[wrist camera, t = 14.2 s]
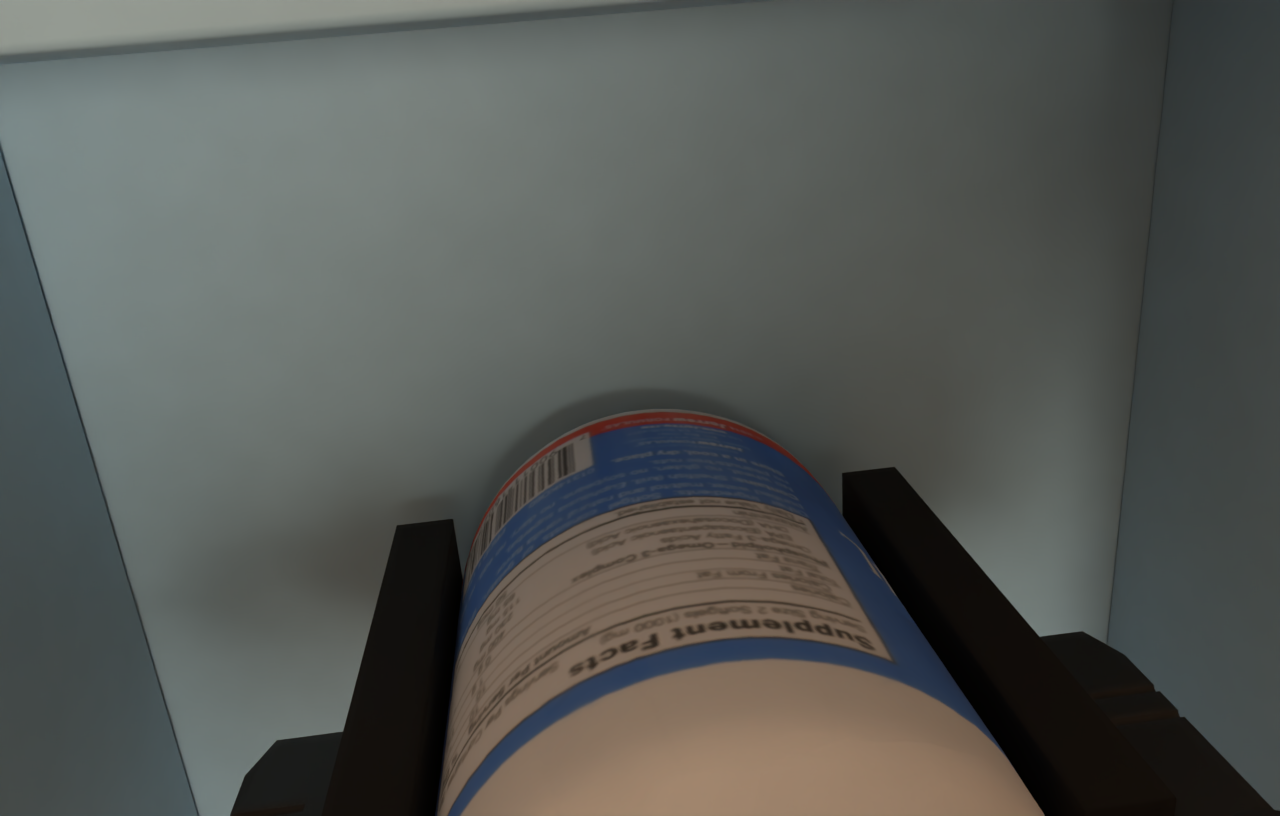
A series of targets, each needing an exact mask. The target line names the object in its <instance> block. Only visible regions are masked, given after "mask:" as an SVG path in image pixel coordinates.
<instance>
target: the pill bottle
mask: <svg viewBox="0 0 1280 816" xmlns="http://www.w3.org/2000/svg"><path fill="white" fill-rule="evenodd" d="M435 816H1045V815H1044V813H1043V812H1042V810H1041V809H1040V807H1039V806H1038V804H1037V803H1036V801H1035V800H1034V798H1033V797H1032V795H1031V794H1030V792H1029V791H1028V789H1027V788H1026V786H1025V785H1024V783H1023V781H1022V780H1021V778H1020V777H1019V775H1018V774H1017V772H1016V770H1015V769H1014V767H1013V766H1012V764H1011V763H1010V761H1009V759H1008V758H1007V756H1006V755H1005V753H1004V752H1003V750H1002V749H1001V748H1000V746H999V745H998V743H997V742H996V740H995V739H994V737H993V736H992V734H991V733H990V732H989V730H988V729H987V727H986V726H985V724H984V723H983V721H982V720H981V718H980V717H979V716H978V714H977V713H976V711H975V710H974V708H973V707H972V705H971V704H970V703H969V701H968V700H967V698H966V697H965V695H964V694H963V692H962V691H961V689H960V688H959V687H958V685H957V684H956V682H955V681H954V679H953V678H952V676H951V675H950V673H949V672H948V670H947V669H946V667H945V666H944V665H943V663H942V662H941V660H940V659H939V657H938V656H937V654H936V653H935V651H934V650H933V648H932V647H931V645H930V644H929V642H928V641H927V639H926V638H925V637H924V635H923V634H922V632H921V631H920V629H919V628H918V626H917V625H916V623H915V622H914V620H913V619H912V618H911V616H910V615H909V613H908V612H907V610H906V608H905V607H904V606H903V604H902V603H901V601H900V600H899V599H898V597H897V596H896V594H895V592H894V591H893V589H892V588H891V586H890V585H889V583H888V582H887V580H886V579H885V577H884V576H883V574H882V573H881V572H880V570H879V569H878V568H877V566H876V565H875V563H874V562H873V560H872V559H871V557H870V556H869V554H868V553H867V551H866V550H865V548H864V547H863V545H862V544H861V542H860V541H859V539H858V538H857V536H856V535H855V533H854V532H853V530H852V529H851V527H850V526H849V524H848V523H847V522H846V520H845V519H844V517H843V516H842V514H841V513H840V511H839V510H838V508H837V507H836V505H835V504H834V502H833V501H832V499H831V498H830V497H829V495H828V494H827V493H826V491H825V490H824V489H823V487H822V486H821V485H820V484H819V483H818V481H817V480H816V479H815V478H814V477H813V475H812V474H811V473H810V472H809V471H808V470H807V469H806V468H805V467H804V466H803V465H802V464H801V463H800V462H799V461H798V460H797V459H796V458H795V457H794V456H793V455H792V454H791V453H790V452H788V451H787V450H786V449H784V448H783V447H782V446H781V445H779V444H778V443H776V442H775V441H773V440H772V439H770V438H768V437H767V436H765V435H764V434H762V433H760V432H758V431H756V430H754V429H752V428H750V427H747V426H745V425H743V424H741V423H738V422H736V421H733V420H730V419H727V418H723V417H720V416H716V415H712V414H708V413H703V412H697V411H690V410H681V409H647V410H637V411H629V412H623V413H619V414H615V415H611V416H607V417H604V418H600V419H597V420H594V421H591V422H589V423H586V424H584V425H581V426H579V427H577V428H575V429H573V430H571V431H569V432H567V433H565V434H563V435H562V436H560V437H558V438H557V439H555V440H553V441H552V442H550V443H549V444H547V445H546V446H544V447H543V448H542V449H541V450H539V451H538V452H537V453H535V454H534V455H533V456H531V457H530V458H529V459H528V460H527V461H526V462H525V463H524V464H523V465H521V466H520V467H519V468H518V469H517V470H516V471H515V473H514V474H513V475H512V476H511V477H510V478H509V479H508V480H507V481H506V482H505V484H504V485H503V486H502V488H501V489H500V491H499V492H498V493H497V495H496V496H495V498H494V499H493V501H492V502H491V504H490V506H489V508H488V509H487V511H486V513H485V515H484V517H483V519H482V520H481V523H480V525H479V527H478V529H477V532H476V534H475V536H474V539H473V542H472V546H471V549H470V552H469V556H468V559H467V563H466V567H465V572H464V577H463V583H462V588H461V600H460V608H459V616H458V625H457V634H456V643H455V653H454V663H453V670H452V680H451V689H450V698H449V707H448V715H447V722H446V730H445V738H444V745H443V754H442V764H441V772H440V780H439V787H438V794H437V802H436V810H435Z"/></svg>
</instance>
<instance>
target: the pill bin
mask: <svg viewBox="0 0 1280 816" xmlns="http://www.w3.org/2000/svg"><path fill="white" fill-rule="evenodd" d="M647 409H681V410H690V411H697V412H703V413H708V414H712V415H716V416H720V417H723V418H727V419H730V420H733V421H736V422H738V423H741V424H743V425H745V426H747V427H750V428H752V429H754V430H756V431H758V432H760V433H762V434H764V435H765V436H767V437H768V438H770V439H772V440H773V441H775V442H776V443H778V444H779V445H781V446H782V447H783V448H784V449H786V450H787V451H788V452H790V453H791V454H792V455H793V456H794V457H795V458H796V459H797V460H798V461H799V462H800V463H801V464H802V465H803V466H804V467H805V468H806V469H807V470H808V471H809V472H810V473H811V474H812V475H813V477H814V478H815V479H816V480H817V481H818V483H819V484H820V485H821V486H822V487H823V489H824V490H825V491H826V493H827V494H828V495H829V497H830V498H831V499H832V501H833V502H834V504H835V505H836V507H837V508H838V510H839V511H840V513H841V514H842V473H845V472H854V471H862V470H871V469H879V468H888V467H895V468H896V469H897V470H898V471H899V472H900V473H901V475H902V476H903V477H904V478H905V479H906V480H907V482H908V483H909V484H910V485H911V486H912V488H913V489H914V490H915V491H916V492H917V493H918V495H919V496H920V497H921V498H922V499H923V500H924V502H925V503H926V504H927V505H928V506H929V508H930V509H931V510H932V511H933V512H934V513H935V515H936V516H937V517H938V518H939V519H940V520H941V522H942V523H943V524H944V525H945V526H946V527H947V529H948V530H949V531H950V532H951V533H952V535H953V536H954V537H955V538H956V539H957V540H958V542H959V543H960V544H961V545H962V546H963V547H964V549H965V550H966V551H967V552H968V553H969V554H970V556H971V557H972V558H973V559H974V560H975V562H976V563H977V564H978V565H979V566H980V567H981V569H982V570H983V571H984V572H985V573H986V574H987V576H988V577H989V578H990V579H991V580H992V582H993V583H994V584H995V585H996V586H997V587H998V589H999V590H1000V591H1001V592H1002V593H1003V594H1004V596H1005V597H1006V598H1007V599H1008V600H1009V601H1010V603H1011V604H1012V605H1013V606H1014V607H1015V609H1016V610H1017V611H1018V612H1019V613H1020V614H1021V616H1022V617H1023V618H1024V619H1025V620H1026V621H1027V623H1028V624H1029V625H1030V626H1031V627H1032V629H1033V630H1034V631H1035V632H1036V633H1037V634H1038V636H1039V637H1041V636H1049V635H1056V634H1064V633H1071V632H1079V631H1083V632H1085V633H1087V634H1089V635H1090V636H1092V637H1094V638H1096V639H1098V640H1099V641H1101V642H1103V643H1105V644H1106V645H1108V646H1110V647H1112V648H1114V649H1115V650H1117V651H1119V652H1121V653H1123V654H1124V655H1126V657H1127V658H1128V659H1129V660H1130V661H1131V662H1132V663H1133V664H1134V665H1135V666H1136V667H1137V668H1138V669H1139V670H1140V671H1141V672H1142V673H1143V674H1144V675H1145V676H1146V677H1147V678H1148V679H1149V680H1150V681H1151V682H1152V683H1153V685H1154V689H1155V691H1156V692H1157V691H1160V692H1161V693H1162V694H1163V695H1164V696H1165V697H1166V698H1167V699H1168V700H1169V701H1170V702H1171V703H1172V704H1173V705H1174V706H1175V707H1176V708H1177V709H1178V713H1179V716H1180V717H1185V718H1186V719H1187V720H1188V721H1189V722H1190V723H1191V724H1192V725H1193V726H1194V727H1195V728H1196V729H1197V730H1198V731H1199V732H1200V733H1201V734H1202V735H1203V736H1204V737H1205V738H1206V740H1207V741H1208V742H1209V743H1210V744H1211V745H1212V746H1213V747H1214V748H1215V749H1216V750H1217V751H1218V752H1219V753H1220V754H1221V755H1222V756H1223V757H1224V758H1225V759H1226V760H1227V761H1228V762H1229V763H1230V764H1231V765H1232V766H1233V768H1234V769H1235V770H1236V771H1237V772H1238V773H1239V774H1240V775H1241V776H1242V777H1243V778H1244V779H1245V780H1246V781H1247V782H1248V783H1249V784H1250V785H1251V786H1252V787H1253V788H1254V789H1255V790H1256V791H1257V792H1258V793H1259V794H1260V796H1261V797H1262V798H1263V799H1264V800H1265V801H1266V802H1267V803H1268V804H1269V805H1270V806H1271V807H1272V808H1273V809H1274V810H1278V811H1280V0H0V816H230V814H231V811H232V808H233V806H234V803H235V800H236V798H237V795H238V792H239V790H240V787H241V784H242V782H243V779H244V776H245V775H246V774H247V773H248V772H249V771H250V769H251V768H252V767H253V766H254V765H255V764H256V763H257V762H258V760H259V759H260V758H261V757H262V756H263V755H264V754H265V753H266V752H267V750H268V749H269V748H270V747H271V746H272V745H273V744H274V743H275V742H276V740H283V739H290V738H298V737H305V736H313V735H320V734H328V733H335V732H343V730H344V726H345V722H346V719H347V715H348V711H349V707H350V703H351V699H352V696H353V692H354V688H355V684H356V680H357V676H358V673H359V669H360V665H361V661H362V657H363V653H364V649H365V646H366V642H367V638H368V634H369V630H370V626H371V623H372V619H373V615H374V611H375V607H376V603H377V600H378V596H379V592H380V588H381V584H382V580H383V576H384V573H385V569H386V565H387V561H388V557H389V553H390V550H391V546H392V542H393V538H394V534H395V530H396V527H397V525H403V524H412V523H420V522H429V521H437V520H446V519H453V522H454V528H455V534H456V540H457V546H458V553H459V559H460V565H461V571H462V577H464V572H465V567H466V563H467V559H468V556H469V552H470V549H471V546H472V542H473V539H474V536H475V534H476V532H477V529H478V527H479V525H480V523H481V520H482V519H483V517H484V515H485V513H486V511H487V509H488V508H489V506H490V504H491V502H492V501H493V499H494V498H495V496H496V495H497V493H498V492H499V491H500V489H501V488H502V486H503V485H504V484H505V482H506V481H507V480H508V479H509V478H510V477H511V476H512V475H513V474H514V473H515V471H516V470H517V469H518V468H519V467H520V466H521V465H523V464H524V463H525V462H526V461H527V460H528V459H529V458H530V457H531V456H533V455H534V454H535V453H537V452H538V451H539V450H541V449H542V448H543V447H544V446H546V445H547V444H549V443H550V442H552V441H553V440H555V439H557V438H558V437H560V436H562V435H563V434H565V433H567V432H569V431H571V430H573V429H575V428H577V427H579V426H581V425H584V424H586V423H589V422H591V421H594V420H597V419H600V418H604V417H607V416H611V415H615V414H619V413H623V412H629V411H637V410H647Z"/></svg>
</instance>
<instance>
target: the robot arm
mask: <svg viewBox="0 0 1280 816" xmlns="http://www.w3.org/2000/svg"><path fill="white" fill-rule="evenodd" d="M842 516H843V517H844V519H845V520H846V522H847V523H848V524H849V526H850V527H851V529H852V530H853V532H854V533H855V535H856V536H857V538H858V539H859V541H860V542H861V544H862V545H863V547H864V548H865V550H866V551H867V553H868V554H869V556H870V557H871V559H872V560H873V562H874V563H875V565H876V566H877V568H878V569H879V570H880V572H881V573H882V574H883V576H884V577H885V579H886V580H887V582H888V583H889V585H890V586H891V588H892V589H893V591H894V592H895V594H896V596H897V597H898V599H899V600H900V601H901V603H902V604H903V606H904V607H905V608H906V610H907V612H908V613H909V615H910V616H911V618H912V619H913V620H914V622H915V623H916V625H917V626H918V628H919V629H920V631H921V632H922V634H923V635H924V637H925V638H926V639H927V641H928V642H929V644H930V645H931V647H932V648H933V650H934V651H935V653H936V654H937V656H938V657H939V659H940V660H941V662H942V663H943V665H944V666H945V667H946V669H947V670H948V672H949V673H950V675H951V676H952V678H953V679H954V681H955V682H956V684H957V685H958V687H959V688H960V689H961V691H962V692H963V694H964V695H965V697H966V698H967V700H968V701H969V703H970V704H971V705H972V707H973V708H974V710H975V711H976V713H977V714H978V716H979V717H980V718H981V720H982V721H983V723H984V724H985V726H986V727H987V729H988V730H989V732H990V733H991V734H992V736H993V737H994V739H995V740H996V742H997V743H998V745H999V746H1000V748H1001V749H1002V750H1003V752H1004V753H1005V755H1006V756H1007V758H1008V759H1009V761H1010V763H1011V764H1012V766H1013V767H1014V769H1015V770H1016V772H1017V774H1018V775H1019V777H1020V778H1021V780H1022V781H1023V783H1024V785H1025V786H1026V788H1027V789H1028V791H1029V792H1030V794H1031V795H1032V797H1033V798H1034V800H1035V801H1036V803H1037V804H1038V806H1039V807H1040V809H1041V810H1042V812H1043V813H1044V815H1045V816H1280V811H1278V810H1274V809H1273V808H1272V807H1271V806H1270V805H1269V804H1268V803H1267V802H1266V801H1265V800H1264V799H1263V798H1262V797H1261V796H1260V794H1259V793H1258V792H1257V791H1256V790H1255V789H1254V788H1253V787H1252V786H1251V785H1250V784H1249V783H1248V782H1247V781H1246V780H1245V779H1244V778H1243V777H1242V776H1241V775H1240V774H1239V773H1238V772H1237V771H1236V770H1235V769H1234V768H1233V766H1232V765H1231V764H1230V763H1229V762H1228V761H1227V760H1226V759H1225V758H1224V757H1223V756H1222V755H1221V754H1220V753H1219V752H1218V751H1217V750H1216V749H1215V748H1214V747H1213V746H1212V745H1211V744H1210V743H1209V742H1208V741H1207V740H1206V738H1205V737H1204V736H1203V735H1202V734H1201V733H1200V732H1199V731H1198V730H1197V729H1196V728H1195V727H1194V726H1193V725H1192V724H1191V723H1190V722H1189V721H1188V720H1187V719H1186V718H1185V717H1180V716H1179V713H1178V709H1177V708H1176V707H1175V706H1174V705H1173V704H1172V703H1171V702H1170V701H1169V700H1168V699H1167V698H1166V697H1165V696H1164V695H1163V694H1162V693H1161V692H1160V691H1157V692H1156V691H1155V689H1154V685H1153V683H1152V682H1151V681H1150V680H1149V679H1148V678H1147V677H1146V676H1145V675H1144V674H1143V673H1142V672H1141V671H1140V670H1139V669H1138V668H1137V667H1136V666H1135V665H1134V664H1133V663H1132V662H1131V661H1130V660H1129V659H1128V658H1127V657H1126V655H1124V654H1123V653H1121V652H1119V651H1117V650H1115V649H1114V648H1112V647H1110V646H1108V645H1106V644H1105V643H1103V642H1101V641H1099V640H1098V639H1096V638H1094V637H1092V636H1090V635H1089V634H1087V633H1085V632H1083V631H1079V632H1071V633H1064V634H1056V635H1049V636H1041V637H1039V636H1038V634H1037V633H1036V632H1035V631H1034V630H1033V629H1032V627H1031V626H1030V625H1029V624H1028V623H1027V621H1026V620H1025V619H1024V618H1023V617H1022V616H1021V614H1020V613H1019V612H1018V611H1017V610H1016V609H1015V607H1014V606H1013V605H1012V604H1011V603H1010V601H1009V600H1008V599H1007V598H1006V597H1005V596H1004V594H1003V593H1002V592H1001V591H1000V590H999V589H998V587H997V586H996V585H995V584H994V583H993V582H992V580H991V579H990V578H989V577H988V576H987V574H986V573H985V572H984V571H983V570H982V569H981V567H980V566H979V565H978V564H977V563H976V562H975V560H974V559H973V558H972V557H971V556H970V554H969V553H968V552H967V551H966V550H965V549H964V547H963V546H962V545H961V544H960V543H959V542H958V540H957V539H956V538H955V537H954V536H953V535H952V533H951V532H950V531H949V530H948V529H947V527H946V526H945V525H944V524H943V523H942V522H941V520H940V519H939V518H938V517H937V516H936V515H935V513H934V512H933V511H932V510H931V509H930V508H929V506H928V505H927V504H926V503H925V502H924V500H923V499H922V498H921V497H920V496H919V495H918V493H917V492H916V491H915V490H914V489H913V488H912V486H911V485H910V484H909V483H908V482H907V480H906V479H905V478H904V477H903V476H902V475H901V473H900V472H899V471H898V470H897V469H896V468H895V467H888V468H879V469H871V470H862V471H854V472H845V473H842ZM462 583H463V577H462V571H461V565H460V559H459V553H458V546H457V540H456V534H455V528H454V522H453V519H446V520H437V521H429V522H420V523H412V524H403V525H397V527H396V530H395V534H394V538H393V542H392V546H391V550H390V553H389V557H388V561H387V565H386V569H385V573H384V576H383V580H382V584H381V588H380V592H379V596H378V600H377V603H376V607H375V611H374V615H373V619H372V623H371V626H370V630H369V634H368V638H367V642H366V646H365V649H364V653H363V657H362V661H361V665H360V669H359V673H358V676H357V680H356V684H355V688H354V692H353V696H352V699H351V703H350V707H349V711H348V715H347V719H346V722H345V726H344V730H343V732H335V733H328V734H320V735H313V736H305V737H298V738H290V739H283V740H276V742H275V743H274V744H273V745H272V746H271V747H270V748H269V749H268V750H267V752H266V753H265V754H264V755H263V756H262V757H261V758H260V759H259V760H258V762H257V763H256V764H255V765H254V766H253V767H252V768H251V769H250V771H249V772H248V773H247V774H246V775H245V776H244V779H243V782H242V784H241V787H240V790H239V792H238V795H237V798H236V800H235V803H234V806H233V808H232V811H231V814H230V816H435V810H436V802H437V794H438V787H439V780H440V772H441V764H442V754H443V745H444V738H445V730H446V722H447V715H448V707H449V698H450V689H451V680H452V670H453V663H454V653H455V643H456V634H457V625H458V616H459V608H460V600H461V588H462Z"/></svg>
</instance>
